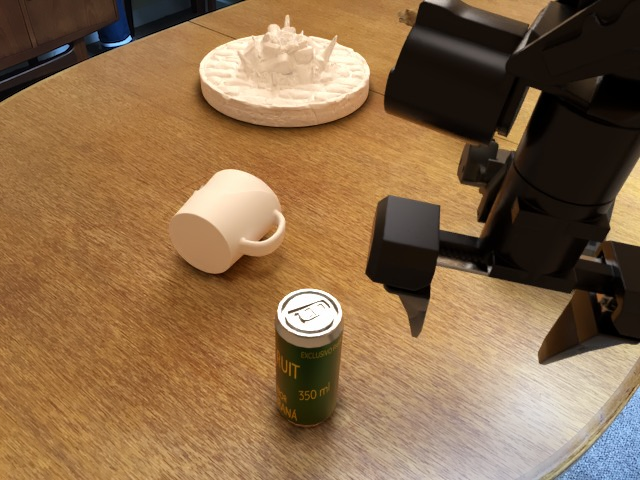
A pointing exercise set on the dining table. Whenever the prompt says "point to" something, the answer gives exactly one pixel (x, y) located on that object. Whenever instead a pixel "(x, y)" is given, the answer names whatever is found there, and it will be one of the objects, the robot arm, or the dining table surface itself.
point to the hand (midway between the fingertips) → (477, 345)
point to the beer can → (308, 356)
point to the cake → (284, 79)
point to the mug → (227, 222)
